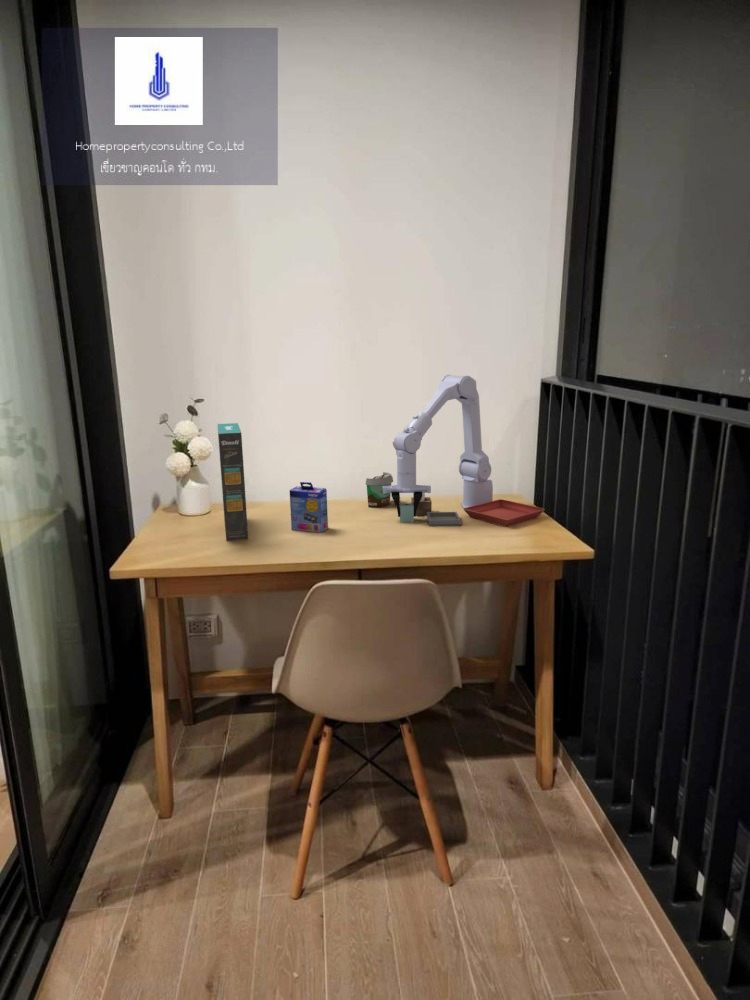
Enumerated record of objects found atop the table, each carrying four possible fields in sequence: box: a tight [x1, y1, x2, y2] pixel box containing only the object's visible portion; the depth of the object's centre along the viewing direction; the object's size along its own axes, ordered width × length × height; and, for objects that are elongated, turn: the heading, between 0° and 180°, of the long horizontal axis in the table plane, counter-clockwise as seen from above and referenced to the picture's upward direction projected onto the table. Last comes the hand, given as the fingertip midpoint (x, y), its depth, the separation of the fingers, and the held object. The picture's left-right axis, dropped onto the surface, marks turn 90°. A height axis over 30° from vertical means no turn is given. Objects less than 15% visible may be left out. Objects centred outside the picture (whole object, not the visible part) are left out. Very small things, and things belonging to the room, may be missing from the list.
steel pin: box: [420, 493, 426, 501], centre depth 202 cm, size 2×2×7 cm
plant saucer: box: [462, 498, 545, 527], centre depth 197 cm, size 18×18×3 cm
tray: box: [426, 511, 462, 527], centre depth 193 cm, size 9×9×2 cm
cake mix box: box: [216, 422, 249, 542], centre depth 185 cm, size 22×6×30 cm, turn 14°
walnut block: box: [410, 496, 433, 517], centre depth 203 cm, size 6×6×4 cm
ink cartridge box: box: [289, 481, 329, 533], centre depth 186 cm, size 10×6×14 cm, turn 72°
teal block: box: [399, 502, 415, 523], centre depth 195 cm, size 4×4×5 cm
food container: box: [365, 471, 394, 509], centre depth 213 cm, size 12×6×10 cm, turn 150°
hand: (406, 515), depth 195 cm, fingers closed on teal block, 4 cm apart
